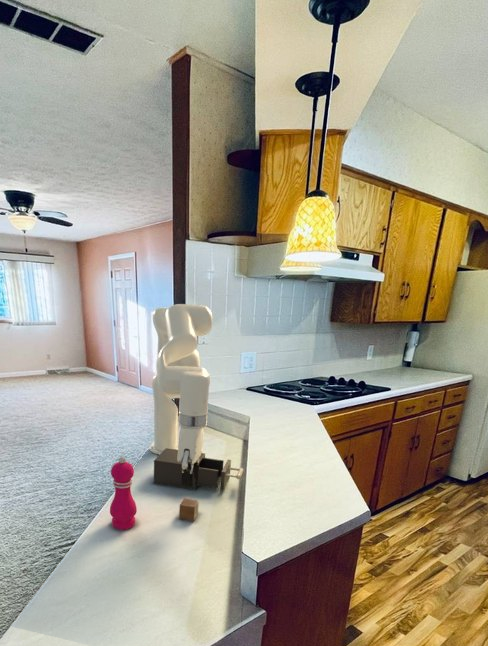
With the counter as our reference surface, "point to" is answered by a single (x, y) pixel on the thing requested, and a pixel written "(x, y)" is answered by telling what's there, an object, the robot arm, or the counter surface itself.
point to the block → (188, 509)
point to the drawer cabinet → (171, 469)
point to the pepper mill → (122, 496)
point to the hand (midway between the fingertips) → (190, 480)
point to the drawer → (215, 473)
